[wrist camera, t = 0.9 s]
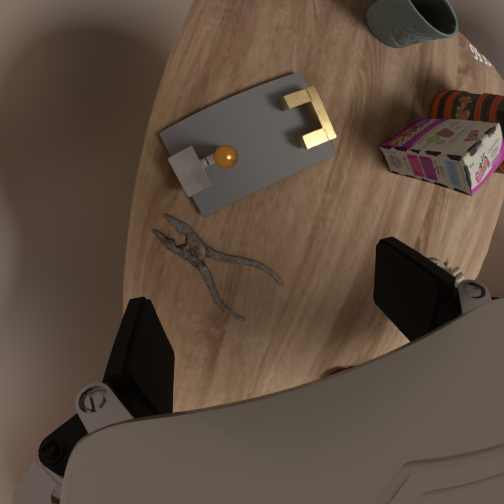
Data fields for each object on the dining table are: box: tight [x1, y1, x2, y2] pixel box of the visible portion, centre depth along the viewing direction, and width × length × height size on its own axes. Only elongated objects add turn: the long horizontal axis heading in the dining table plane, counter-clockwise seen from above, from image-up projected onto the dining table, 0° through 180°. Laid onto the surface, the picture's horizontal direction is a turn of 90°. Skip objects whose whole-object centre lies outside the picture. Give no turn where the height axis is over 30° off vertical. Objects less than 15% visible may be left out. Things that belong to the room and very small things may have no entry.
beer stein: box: [430, 90, 504, 174], centre depth 25 cm, size 19×15×20 cm
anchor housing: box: [168, 146, 212, 198], centre depth 29 cm, size 3×5×3 cm, turn 25°
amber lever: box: [200, 145, 238, 169], centre depth 26 cm, size 7×2×10 cm, turn 115°
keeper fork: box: [278, 86, 336, 149], centre depth 29 cm, size 4×7×3 cm, turn 25°
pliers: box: [153, 214, 283, 321], centre depth 38 cm, size 10×1×20 cm
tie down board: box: [159, 72, 337, 217], centre depth 31 cm, size 19×12×2 cm, turn 115°
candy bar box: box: [379, 118, 504, 196], centre depth 27 cm, size 11×5×16 cm, turn 124°
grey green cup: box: [365, 0, 458, 48], centre depth 21 cm, size 10×10×12 cm
